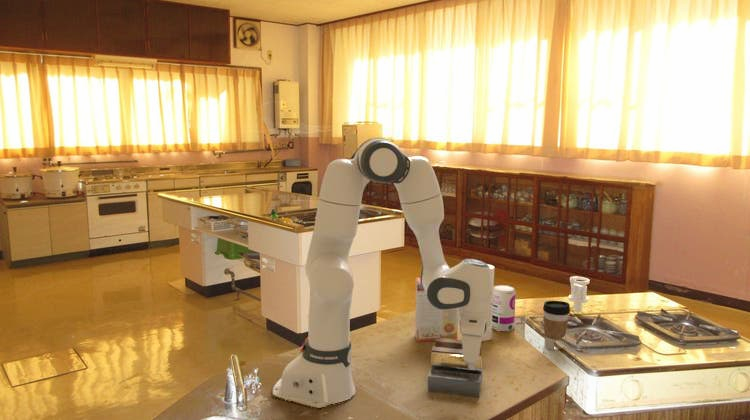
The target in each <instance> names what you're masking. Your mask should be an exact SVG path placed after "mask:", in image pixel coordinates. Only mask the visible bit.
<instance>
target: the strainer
mask: <svg viewBox="0 0 750 420" xmlns="http://www.w3.org/2000/svg"><path fill="white" fill-rule="evenodd" d="M569 282H570V284H569V285H570V287H571V290H570V294H569V295H568V300H569V301H570V302H573V310H574V311H577V312H580V311H582V310H583V304H584V303H585V304H586V303H588V302H589V297H588V296H587V290H588V286H587V285H589V284H590V279H589V278H587V277H583V276H577V275H575V276H570V277H569Z"/></svg>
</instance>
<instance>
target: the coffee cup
mask: <svg viewBox="0 0 750 420" xmlns="http://www.w3.org/2000/svg"><path fill="white" fill-rule="evenodd" d="M570 308H571V305H570V303H569V302H567V301H562V300H560V301H559V300H547V301H545V302H544V303H543V307H542V310H543V328H544V331H543V333H544V346H545V348H547V349H549V350H553V351H555V350H554V342H556V341H559V340H561V339H562V337H564V336H565V335H567V329H568V324H569V315H570V314H571V309H570ZM565 337H566V336H565Z"/></svg>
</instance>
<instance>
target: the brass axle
mask: <svg viewBox="0 0 750 420" xmlns="http://www.w3.org/2000/svg"><path fill="white" fill-rule="evenodd" d="M430 365H435V366H445V367H455V368H466V369H469V368H468V365H469V364H468V363H465V362H464V360H463V355H459V354H448V353H437V352H432V351H431V354H430ZM475 369H476V370H482V371H483V356H482V355H481V356H479V359H478V363H477V364H475Z"/></svg>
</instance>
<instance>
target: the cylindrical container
mask: <svg viewBox="0 0 750 420" xmlns="http://www.w3.org/2000/svg"><path fill="white" fill-rule="evenodd" d="M486 264H487V265H488V266H489V267H490V269H491V275H492V294H491V297H490V305H491V321H490V326H489V327H488V328H487V330H486V331H485V334H484V336H483V337H482V341H481V342H486V341H485V340H487V341H490V340H491V339H492V336H493V335H492V333H493V331H492V329H493V328H492V313H493V290H494V287H495V266H494V265H492V264H489V263H486Z"/></svg>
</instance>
